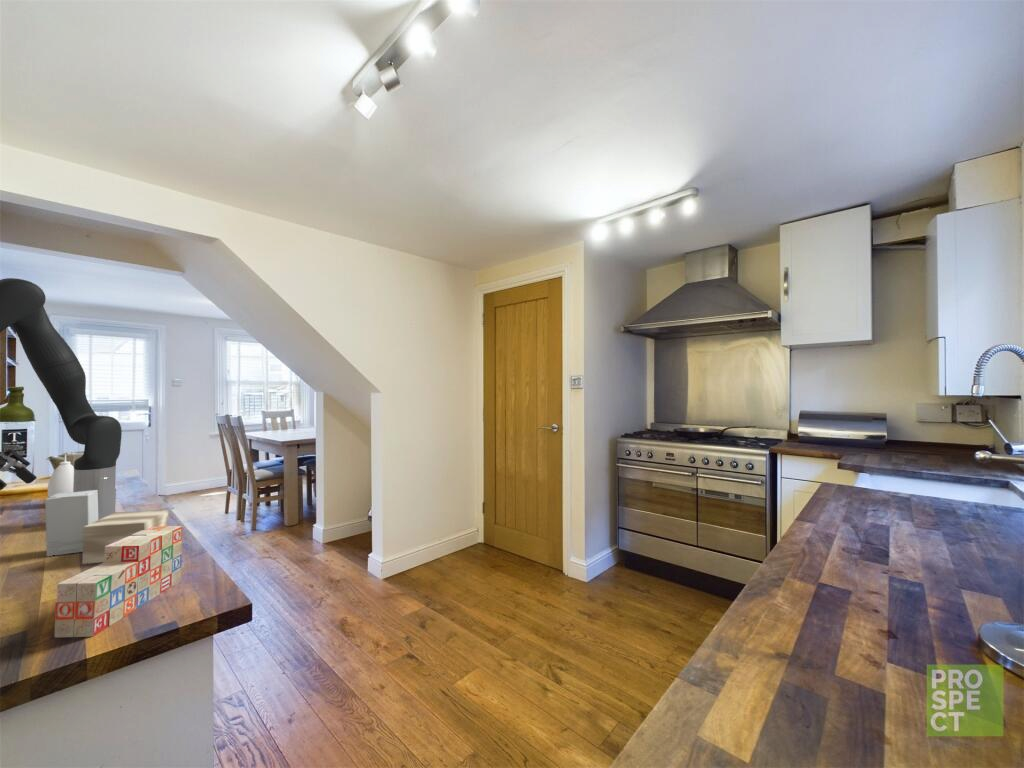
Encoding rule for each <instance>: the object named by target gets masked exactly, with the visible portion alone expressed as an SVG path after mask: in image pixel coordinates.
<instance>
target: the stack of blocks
mask: <svg viewBox="0 0 1024 768" xmlns="http://www.w3.org/2000/svg"><path fill="white" fill-rule="evenodd" d="M183 544H184V543H183V525H168V526H157V527H151V528H149V529H146V530H142V531H139V532H137V533H134V534H132V535H131V536H128V537H126V538H123V539H121V540H119V541H117V542H114V543H112V544H110V545H107V546H105V555H104V562H101V563H99V564H97V565H95V566H94V567H91V568H88V569H87V570H84V571H81V572H80V573H78V574H76V575H73V576H71V577H70V578H67V579H65V580H63V581H61V582H58V583H57V586H56V601H55V609H54V619H55V620H54V638H83V637H84V638H85V637H87V638H89V637H90V638H91V637H94V636H95V635H97V634H99V633H100V632H102V631H103V630H105V629H107V628H108V627H111V626H112V625H114V624H115V623H117V622H118V621H120V620H121V619H123V618H124V617H126V616H128V615H129V614H131V613H133V612H134V611H135V610H137V609H138V608H141V606H143V605H144V604H147V603H148V602H149V601H151V600H152V599H154V598H156V597H157V596H158V595H160V594H162V593H163V592H166V591H167V590H169V589H170V588H171V587H173V586H175V585H177V584H178V583H181V581H182V559H183V556H182V555H183V546H184V545H183Z"/></svg>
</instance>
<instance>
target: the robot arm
mask: <svg viewBox="0 0 1024 768" xmlns="http://www.w3.org/2000/svg"><path fill="white" fill-rule="evenodd" d="M45 303H46V294H45V292H44V290H43V289H42V288H41V287H40V286H39V285H37V284H36V283H34V282H32V281H30V280H25V279H22V278H14V277H11V278H10V277H9V278H8V277H5V278H3V279H0V333H2V332H3V331H5V330H6V329H7V328H9V327H10V326H11V327H12V328H13V330H14V332H15V333H16V335H17V337H18V338H19V342H20V344H21V347H22V349H23V351H24V354H25V356H26V358H27V359H28V361H29V363H30V366H31V367H32V369H33V371H34V372H35V373H34V374H36V376H37V378H38V379H39V381H40V382H41V383H42V385H43V387H44V389H45V390H46V391H47V392H46V393H47V394H48V396H49V397H50V399H51V400H52V402H53V403H54V406H55V407H56V409H57V410H58V413H59V415H60V417H61V419H62V422H63V424H64V427H65V429H66V431H67V433H68V434H67V435H68V436H69V438H70V439H71V440H72V441H73V442H75V443H76V444H80V445H83V446H84V450H83V454H82V455H81V456H80V457H77V458H76V459H75V460H74V463H73V467H74V483H73V492H80V491H90V490H98V520H100V519H102V518H104V517H106V516H108V515H111V514H113V513H115V512H116V499H117V489H116V478H117V477H116V476H117V475H116V474H117V473H116V472H117V471H116V469H117V467H116V466H117V460H118V459H119V456H120V454H121V446H122V432H123V431H122V426H121V423H120V422H119V420H118V419H116V418H115V417H114V416H113V417H112V416H108V415H97V413H95V411H94V409H93V408H92V406H91V404H90V403H89V400H88V398H87V395H86V392H87V391H86V389H87V387H86V384H87V381H86V373H85V370H84V368H83V367H82V366H83V365H82V364H81V363H80V361H79V358H78V357H77V356H76V354H75V353H74V350H73V349H72V348H71V347H70V345H69V344H68V343H67V341H66V340H65V339H64V338H63V337H62V336H61V334H60V333H59V332H58V331H57V330H56V329H55V326H53V324H52V322H51V320H50V318H49V315H48V314H47V311H46V309H45V307H44V305H45ZM30 465H31V463H30V461H28V459H25V458H24V457H23V456H22V455H20V454H18V453H17V452H16V451H15V450H13V449H11V448H8V449H7V450H5V451H3V452H2V451H0V472H2V473H3V472H8V473H11V474H14V475H15V476H16V477H17V478H19V479H20V480H21V481H23V482H24V483H25V484H31V483H33V482H34V481H35V480H36V479H37V476H36V475H35V474H34V473H33V472H31V471H30V470H29V469H28V468H27V467H29V466H30ZM7 485H8V484H7V483H6V482H5V481H4V480H3V479H1V478H0V491H2V490H3V489H5V488H6V487H7Z"/></svg>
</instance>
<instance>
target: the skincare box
mask: <svg viewBox="0 0 1024 768" xmlns="http://www.w3.org/2000/svg"><path fill="white" fill-rule="evenodd" d="M44 503H45V536H46V557H47V556H48V557H53V555H55V556H59V555H60V556H61V555H68V554H69V555H70V554H75V553H76V554H77V553H83V531H84V526H87V525H89V524H91V523H93V522H95V521H97V520H98V490H90V491H80V492H70V493H58V494H55V495H53V496H51V497H49V496H48V497H47V498H46V499H45V502H44Z"/></svg>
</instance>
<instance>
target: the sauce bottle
mask: <svg viewBox="0 0 1024 768" xmlns="http://www.w3.org/2000/svg"><path fill="white" fill-rule="evenodd" d="M73 483H74V465H73V464H72V462H71V461H67V454H64V460H63V461H61V462H59V465H58V466H57V467H56V468H55V469H54V470H53V472H52V474H51V476H50V478H49V481H48V484H47V496H48V498H49V497H51V496H53V495H55V494H58V493H70V492H73Z"/></svg>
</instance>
